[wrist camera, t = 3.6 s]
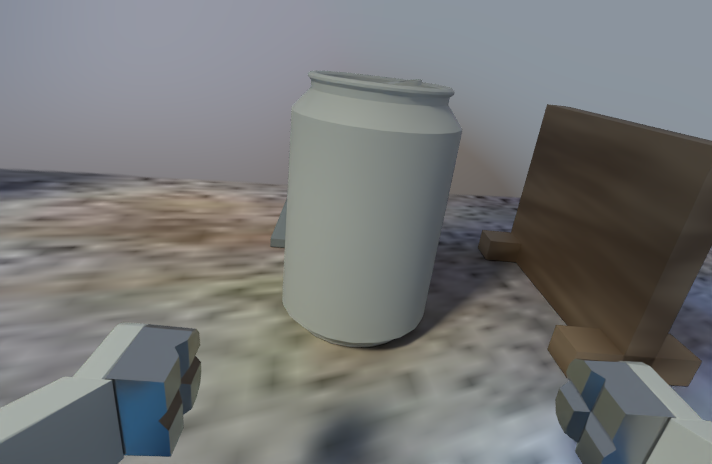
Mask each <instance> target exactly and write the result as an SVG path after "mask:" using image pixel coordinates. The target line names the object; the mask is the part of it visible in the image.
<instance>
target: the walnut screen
mask: <svg viewBox="0 0 712 464" xmlns="http://www.w3.org/2000/svg"><path fill="white" fill-rule="evenodd" d="M711 246H712V141H710V140H706V139H701V138H698V137H693V136H689V135H685V134H681V133H677V132H672V131H668V130H664V129H660V128H655V127H651V126H647V125H643V124H638V123H634V122H630V121H626V120H622V119H618V118H613V117H609V116H605V115H601V114H596V113H592V112H588V111H584V110H580V109H576V108H571V107H566V106H557V105H548V104H547V107H546V110H545V114H544V118H543V121H542V125H541V128H540V132H539V135H538V139H537V142H536V146H535V149H534V153H533V157H532V160H531V164H530V167H529V171H528V174H527V178H526V181H525V185H524V189H523V192H522V196H521V199H520V203H519V206H518V210H517V213H516V217H515V220H514V224H513V227H512V231H511V233H509V232H498V231H488V230H482V234H481V238H480V242H479V246H478V248H479V250H480V251H481V253H482V254H483V256H484V257H485V259H486V260H498V261H509V262H516V263H517V264H518V265H519V267H520V268H521V269H522V270H523V272H524V273H525V274H526V275H527V276H528V278H529V279H530V280H531V281H532V283H533V284H534V285H535V286H536V287H537V289H538V290H539V291H540V292H541V294H542V295H543V296H544V297H545V298H546V300H547V301H548V302H549V303H550V305H551V306H552V307H553V308H554V309H555V311H556V312H557V313H558V314H559V316H560V317H561V318H562V319H563V320H564V322H565V323H566V324H567V325H568V326H562V325H556V327H555V330H554V333H553V335H552V338H551V341H550V344H549V346H548V351H549V352H550V354H551V355H552V357H553V358H554V360H555V361H556V363H557V364H558V365H559V367H560V368H561V370H562V371H563V373H564V374H565V376H566V377H567V378H568V376H567V374H566V371H567V369H568V366H569V364H570V363H571V362H572V361H573V360H574V359H589V360H603V361H616V362H619V361H630V362H643V363H645V364H647V365H649V366H650V367H651V368H652V369H653V370H654V371H655V372H656V373H657V374H658V375H659V376H660V377H661V378H662V379H663V380H664V381H665V382H666V383H667V384H668V385H677V386H689V384H690V382H691V380H692V379H693V377H694V375H695V373H696V371H697V370H698V368H699V366H700V364H701V362H702V361H701V360H700V359H699V358H698V357H697V356H695V355H694V354H693V353H692V352H691V351H690V350H688V349H687V348H686V347H685V346H684V345H683V344H681V343H680V342H679V341H678V340H677V339H676V338H675V337H673V336H672V335H671V334H668V332H669V330H670V328H671V326H672V324H673V322H674V320H675V318H676V316H677V314H678V312H679V310H680V308H681V306H682V304H683V302H684V300H685V298H686V296H687V294H688V292H689V290H690V288H691V286H692V284H693V282H694V280H695V278H696V276H697V274H698V272H699V270H700V268H701V266H702V264H703V262H704V260H705V258H706V256H707V254H708V252H709V250H710V248H711Z"/></svg>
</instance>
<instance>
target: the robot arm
mask: <svg viewBox="0 0 712 464" xmlns="http://www.w3.org/2000/svg"><path fill="white" fill-rule="evenodd" d="M199 347H200V337H199V332H198V330H197V329H192V328H182V327H172V326H162V325H152V324H148V325H147V324H139V323H128V322H123V323H120V324H118V325H117V326H116V327H115V328H114V329H113V330H112V331H111V333H110V334H109V335H108V336H107V337H106V338H105V340H104V341H103V342H102V343H101V344H100V345H99V347H98V348H97V349H96V350H95V351H94V353H93V354H92V355H91V356H90V357H89V358H88V360H87V361H86V362H85V363H84V364H83V365H82V367H81V368H80V369H79V370H78V371H77V373H76V374H75V375H74V376H73V377H63V378H61V379H59V380H57V381H54V382H52V383H50V384H48V385H46V386H44V387H42V388H40V389H38V390H36V391H34V392H32V393H30V394H28V395H26V396H24V397H22V398H20V399H18V400H16V401H14V402H12V403H10V404H8V405H6V406H4V407H1V408H0V464H118V463H119V462H120V461H121V460H122V459H123V458H124V455H127V456H162V457H171V455H172V453H173V451H174V448H175V446H176V444H177V442H178V439H179V437H180V435H181V433H182V430H183V428H184V420H183V415H184V414H185V413H187V412H188V411H189V410H191V409H192V407H193V405H194V402H195V400H196V397H197V394H198V390H199V386H200V379H201V362H200V361H199V359H198V358H197V357H196V356H195V355H196V353H197V351H198V349H199ZM566 374H567V376H568V379H569V381H568V382H567V383H566V384H564V385H563V386H562V387H560V388H559V391H558V394H557V397H556V415H557V418H558V421H559V424H560V425H561V427H562V429H563V431H564V433H565V434H567V435H568V436H569V437H570V438H572V439H573V440H574V441H576V442H577V444H576V450H575V452H576V454H577V455H578V457H579V459H580V460H581V462H582V464H712V422H711V421H704V420H702V418H701V417H700V416H699V415H698V414H697V413H696V412H695V411H694V410H693V409H692V408H691V407H690V406H689V405H688V404H687V403H686V402H685V401H684V400H683V399H682V398H681V397H680V396H679V395H678V394H677V393H676V392H675V391H674V390H673V389H672V388H671V387H670V386H669V385H668V384H667V383H666V382H665V381H664V380H663V379H662V378H661V377H660V376H659V375H658V374H657V373H656V372H655V371H654V370H653V369H652V368H651V367H650V366H649V365H647V364H645V363H643V362H630V361H619V362H616V361H603V360H589V359H574V360H573V361H572V362H571V363H570V364H569V366H568V369H567V371H566Z"/></svg>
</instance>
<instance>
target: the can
mask: <svg viewBox="0 0 712 464" xmlns="http://www.w3.org/2000/svg"><path fill="white" fill-rule="evenodd" d="M308 76H309V77H310V79H311V87H310V89H309V90H308V91H307V92H306V93H305V94H304V95H303V96H302V97H301V98H300V99H299V100H298V101H297V102H296V103H295V104H294V105H293V106H292V113H291V134H290V154H289V175H288V195H287V215H286V235H285V256H284V276H283V302H282V303H283V305H284V307H285V308H286V310H287V312H288V314H289V316H290V317H292V318H293V319H294V320H295V321H297V322H298V323H299V324H300V325H301V326H303V327H304V328H305V329H307V330H308V331H309V332H311V333H312V334H313V335H314V336H316V337H318V338H321V339H323V340H325V341H327V342H330V343H333V344H338V345H343V346H348V347H372V346H376V345H380V344H384V343H387V342H389V341H391V340H392V339H396V338H400V337H402V336H403V335H405V334H407V333H408V332H410V331H412V330H413V329H415V328H416V327H417V325H418V324H419V322H420V321H421V319H422V318H423V315H424V310H425V305H426V300H427V296H428V291H429V286H430V281H431V277H432V272H433V267H434V262H435V258H436V253H437V248H438V243H439V239H440V234H441V229H442V224H443V220H444V215H445V210H446V205H447V201H448V196H449V191H450V186H451V182H452V177H453V172H454V167H455V162H456V158H457V153H458V148H459V143H460V139H461V134H462V128H461V126H460V124H459V123H458V121H457V119H456V117H455V116H454V114H453V112H452V111H451V109H450V107H449V106H448V103H449V98H450V97H451V96H453V95H454V91H453V89H452V88H449V87H445V86H440V85H435V84H429V83H423V82H422V80H420V79H416V80H403V79H396V78H387V77H380V76H371V75H363V74H352V73H343V72H331V71H310V72H309V73H308Z"/></svg>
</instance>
